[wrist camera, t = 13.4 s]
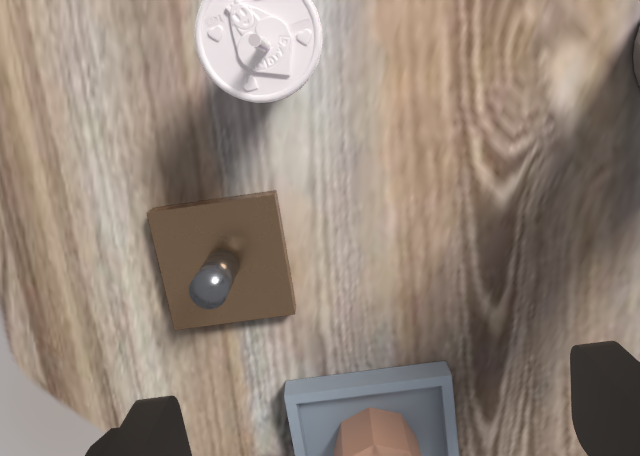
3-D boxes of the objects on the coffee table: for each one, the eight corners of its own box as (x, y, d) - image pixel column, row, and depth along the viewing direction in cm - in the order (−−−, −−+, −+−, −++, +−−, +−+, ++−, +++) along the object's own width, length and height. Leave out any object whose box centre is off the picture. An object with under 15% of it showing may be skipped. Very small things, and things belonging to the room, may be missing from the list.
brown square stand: (276, 190, 38) (267, 211, 32) (296, 305, 41) (291, 347, 34) (153, 207, 39) (120, 232, 32) (179, 321, 41) (153, 364, 35)
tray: (445, 360, 42) (451, 375, 40) (458, 494, 45) (464, 513, 43) (285, 380, 42) (284, 396, 40) (309, 511, 46) (309, 531, 44)
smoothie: (270, 117, 37) (239, 138, 23) (206, 41, 36) (135, 18, 22) (342, 54, 36) (354, 39, 22) (279, -26, 35) (251, -93, 21)
